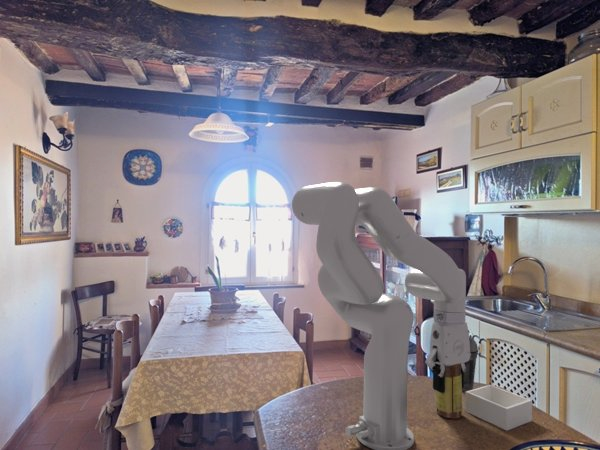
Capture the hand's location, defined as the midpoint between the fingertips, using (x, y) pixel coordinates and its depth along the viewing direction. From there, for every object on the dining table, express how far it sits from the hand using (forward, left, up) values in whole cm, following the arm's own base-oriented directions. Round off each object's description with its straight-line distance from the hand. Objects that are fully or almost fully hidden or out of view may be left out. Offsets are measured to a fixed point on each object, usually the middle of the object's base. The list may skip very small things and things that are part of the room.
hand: (448, 387), depth 100 cm
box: (+10, -7, -7) cm, 14 cm away
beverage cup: (+18, +9, -7) cm, 21 cm away
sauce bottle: (0, 0, -7) cm, 7 cm away
